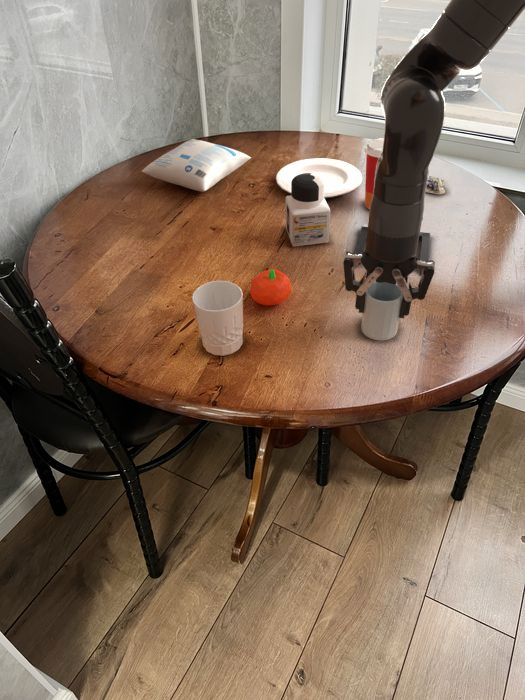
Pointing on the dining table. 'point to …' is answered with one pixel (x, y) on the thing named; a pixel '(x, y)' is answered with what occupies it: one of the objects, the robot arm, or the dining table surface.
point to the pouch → (196, 164)
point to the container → (307, 211)
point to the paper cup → (372, 167)
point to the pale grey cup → (381, 311)
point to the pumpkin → (270, 287)
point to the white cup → (219, 316)
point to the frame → (422, 237)
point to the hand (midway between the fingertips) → (381, 312)
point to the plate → (323, 175)
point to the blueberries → (435, 186)
